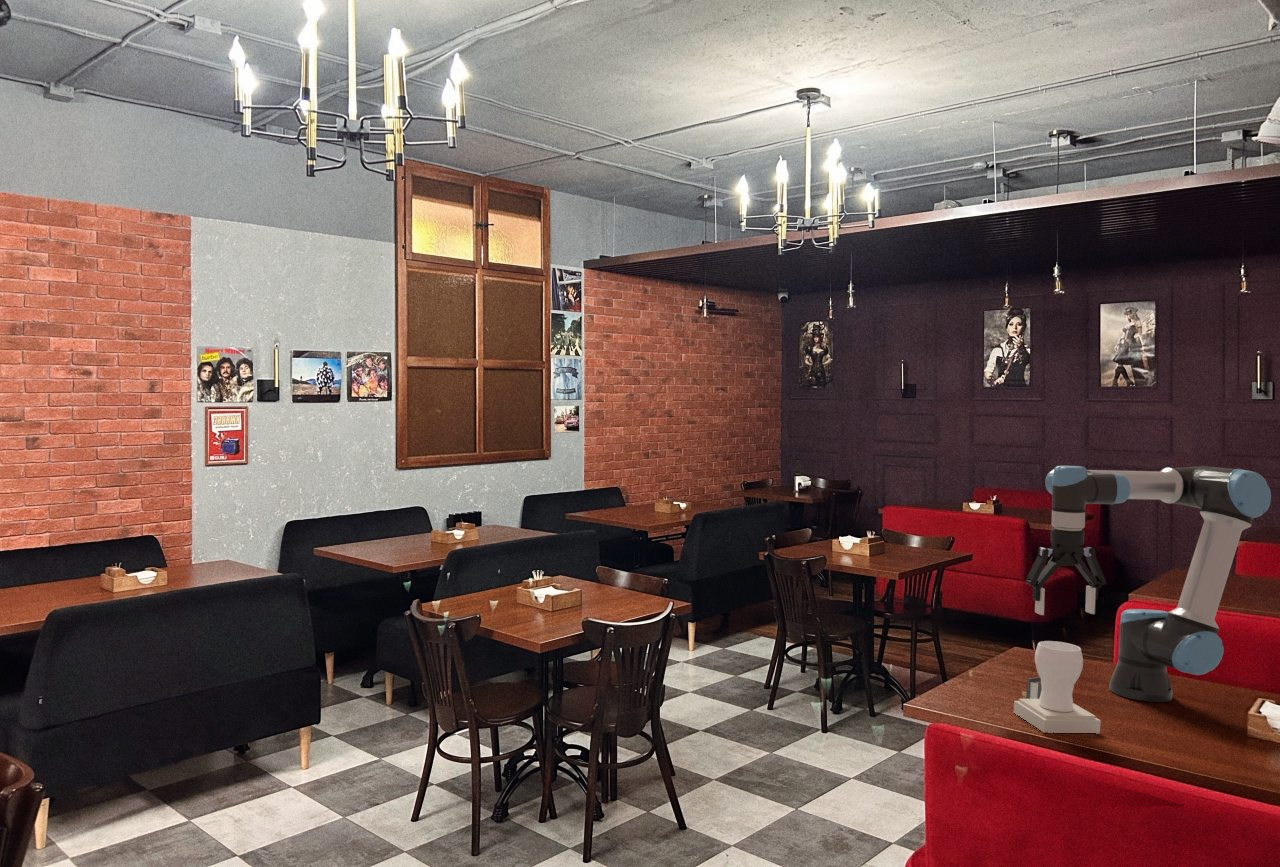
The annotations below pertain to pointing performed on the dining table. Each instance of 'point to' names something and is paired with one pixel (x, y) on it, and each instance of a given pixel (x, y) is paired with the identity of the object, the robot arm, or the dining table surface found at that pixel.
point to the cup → (1058, 673)
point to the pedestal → (1057, 718)
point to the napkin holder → (1033, 688)
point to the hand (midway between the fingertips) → (1064, 613)
